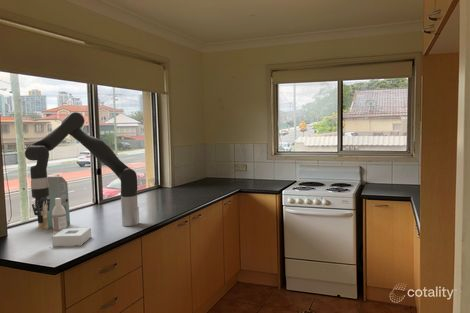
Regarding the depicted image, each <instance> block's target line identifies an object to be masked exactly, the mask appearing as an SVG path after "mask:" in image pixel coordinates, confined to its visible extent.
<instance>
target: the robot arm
mask: <svg viewBox="0 0 470 313" xmlns="http://www.w3.org/2000/svg"><path fill="white" fill-rule="evenodd" d="M84 124H85V117H84V116H83V115H82V113H80V112H78V111H73V112H70V113H68V115H66V116H65V117H64V118H63V119H62V120H61V122H60V125H59V126H57V127H56V128H54V129H53V130H52V131H50V132H49V133H47V134H46V135H45V136H43V138H42V139H40V140H38V141H35V142H34V143H32V144H30V145H28V146H27V147H26V149H25V151H24V156H25V159H26V160H29V161H33V162H34V161H36V164H35V165H33V166H31V167H30V169H29V170H30V188H31V198H33V199H35V200H34V203H32V204H31V206H32V211H33V213H34V214H33V215H34V216H37V224H38V223H43V210H44V205H46V210H47V213H48V211H49V207H50V199H47V196H49V185H48V179H47V176H48V171H47V168H48V164H49V159H50V152H51V151H52V150H54V149H55V148H56V147H58V145H59V144H61V143H62V142H63V141H64V140H65V139H66V138H67V136H69V135H70V137H72V138H74V140H76V141H77V142H78V143H80V144H81V145H82V146H83V147H84V148H85V149H87V150H88V151H89V153H91V155H93V157H95V158H96V159H97V160H98V161H99V162H101V163H102V164H103V165H104V166H106V167H107V168H108V169H110V170H111V171H112V173H114V174H115V176H117V178H118V179H119V180H120V207H121V210H120V211H121V224H122V225H121V226H124V227H134V226H138V225H139V224H140V210H139V209H140V208H139V206H138V174H137V172H136V171H135V170H134V169H133V168H130V167H128V166H127V165H126V164H125V163H124V162H122V161H121V159H119V158H118V156H117V155H116V153H115V152H114V151H113V149H112V148H111V147H110V146H109V145H108V144H107V143H106V142H104V140H102V139H100V138H97V137H95V136H91V135H89V134H87V133H86V132H84V131H83V130H82V129H81V128H83V126H84ZM39 208H41V209H39ZM40 211H41V212H40ZM47 220H48V218H47Z"/></svg>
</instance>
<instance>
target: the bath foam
mask: <svg viewBox="0 0 470 313" xmlns="http://www.w3.org/2000/svg"><path fill="white" fill-rule="evenodd" d="M52 222H53V228H52V234H53V235H52V236H54V235H55V234H57V233H58V232H60V231H61V230H63V229H68V226H67V220H66V211H65V208H64V207H63V206H62V205H61V198H55V207H54V209H53V211H52Z"/></svg>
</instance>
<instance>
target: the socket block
mask: <svg viewBox="0 0 470 313" xmlns="http://www.w3.org/2000/svg"><path fill="white" fill-rule="evenodd" d="M90 237H91V238H92V227H75V228H74V227H72V228H70V227H69V228H67V229H63V230H61V231H60V232H58V233H57V234H55V235H52V236H51V241H52V242H51V243H52V247H71V246H72V247H73V246H75V245H79V246H82V244H83V243H84V242H85V243H86V242H87V241H88V240H90V239H91V238H90ZM89 238H90V239H89ZM85 243H84V244H85Z"/></svg>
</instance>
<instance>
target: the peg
mask: <svg viewBox="0 0 470 313" xmlns="http://www.w3.org/2000/svg"><path fill="white" fill-rule="evenodd" d="M39 209H41V208H39ZM40 212H41V211H40ZM37 224H39V226H38V230H39V231H40V232H41V231H46V230H48V229H49V227H48V221H47V210H46V205H44V210H43V223H38V222H37Z"/></svg>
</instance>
